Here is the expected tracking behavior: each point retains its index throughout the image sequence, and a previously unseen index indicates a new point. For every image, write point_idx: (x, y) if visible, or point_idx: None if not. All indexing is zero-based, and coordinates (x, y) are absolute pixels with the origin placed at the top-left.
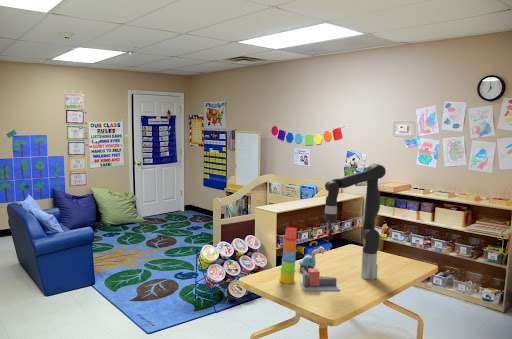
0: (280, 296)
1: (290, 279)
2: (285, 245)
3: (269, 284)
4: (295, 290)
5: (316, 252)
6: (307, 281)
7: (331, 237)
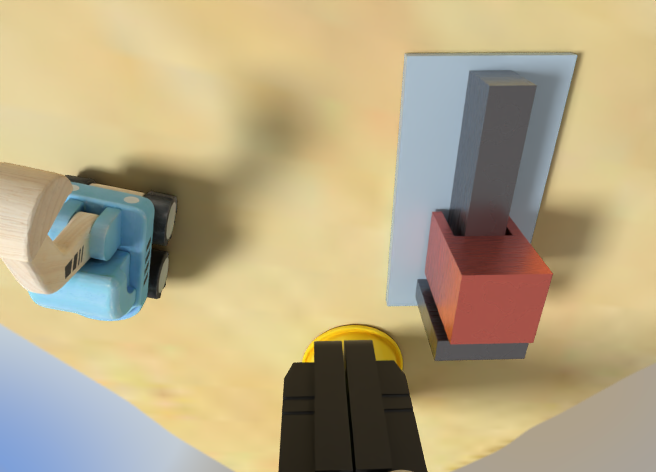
0: (559, 401)
1: None
2: None
3: None
4: None
5: (54, 254)
6: None
7: (377, 371)
